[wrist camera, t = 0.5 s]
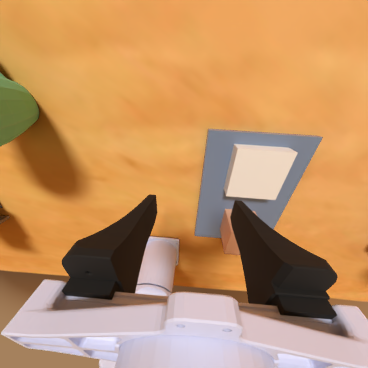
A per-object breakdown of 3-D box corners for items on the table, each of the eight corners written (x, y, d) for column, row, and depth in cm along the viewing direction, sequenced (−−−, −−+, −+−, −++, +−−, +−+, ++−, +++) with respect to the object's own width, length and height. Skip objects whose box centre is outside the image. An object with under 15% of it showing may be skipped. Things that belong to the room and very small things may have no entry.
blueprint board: (264, 238, 29) (271, 251, 27) (194, 232, 30) (194, 244, 27) (318, 135, 19) (336, 142, 16) (208, 128, 19) (210, 133, 17)
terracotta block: (246, 231, 27) (256, 256, 23) (219, 229, 27) (224, 253, 23) (254, 211, 25) (267, 235, 20) (225, 208, 25) (231, 232, 21)
